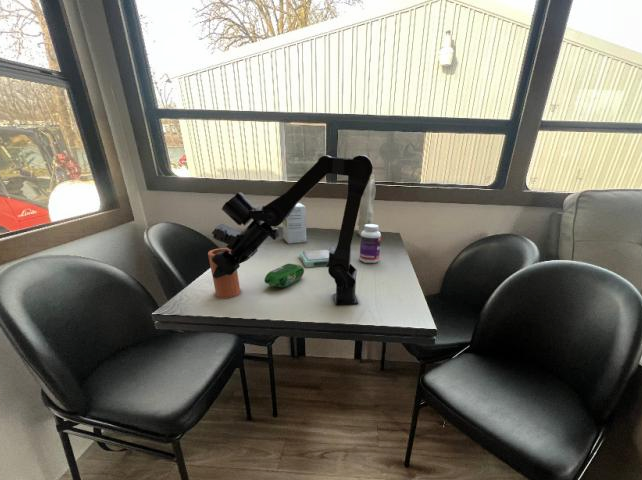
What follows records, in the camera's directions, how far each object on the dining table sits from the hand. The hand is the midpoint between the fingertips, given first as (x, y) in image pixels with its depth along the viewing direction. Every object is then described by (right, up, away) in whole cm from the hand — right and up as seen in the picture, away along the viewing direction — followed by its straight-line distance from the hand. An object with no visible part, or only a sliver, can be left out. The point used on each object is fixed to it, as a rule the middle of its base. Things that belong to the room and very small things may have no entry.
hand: (220, 272), depth 87 cm
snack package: (+17, -3, +11) cm, 20 cm away
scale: (+25, +7, +32) cm, 41 cm away
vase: (+46, +26, +70) cm, 88 cm away
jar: (+1, -6, +3) cm, 7 cm away
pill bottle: (+46, +8, +34) cm, 58 cm away
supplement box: (+11, +21, +56) cm, 61 cm away
